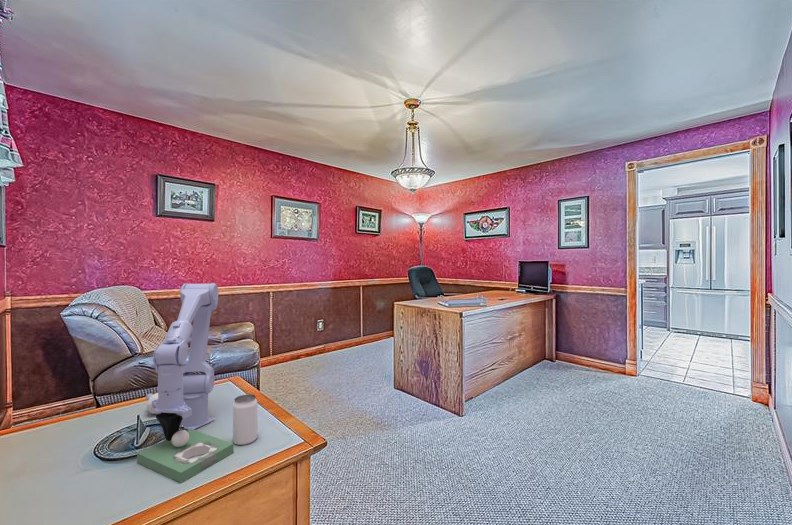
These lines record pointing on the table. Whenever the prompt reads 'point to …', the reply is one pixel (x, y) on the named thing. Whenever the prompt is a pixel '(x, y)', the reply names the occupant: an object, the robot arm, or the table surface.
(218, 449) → the putting mat
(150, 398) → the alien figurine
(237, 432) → the can
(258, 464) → the table surface
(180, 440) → the ball
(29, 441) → the table surface
